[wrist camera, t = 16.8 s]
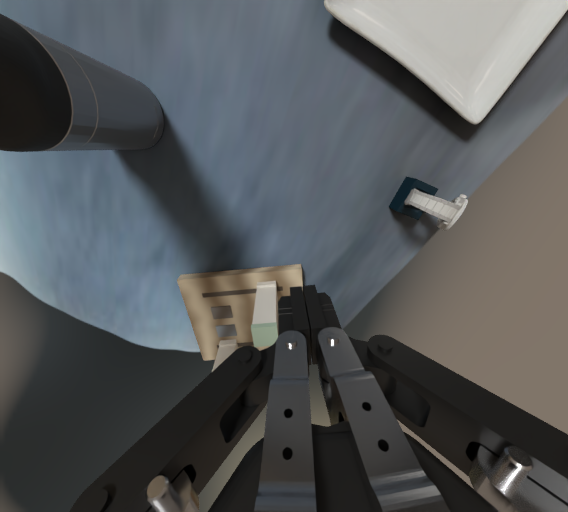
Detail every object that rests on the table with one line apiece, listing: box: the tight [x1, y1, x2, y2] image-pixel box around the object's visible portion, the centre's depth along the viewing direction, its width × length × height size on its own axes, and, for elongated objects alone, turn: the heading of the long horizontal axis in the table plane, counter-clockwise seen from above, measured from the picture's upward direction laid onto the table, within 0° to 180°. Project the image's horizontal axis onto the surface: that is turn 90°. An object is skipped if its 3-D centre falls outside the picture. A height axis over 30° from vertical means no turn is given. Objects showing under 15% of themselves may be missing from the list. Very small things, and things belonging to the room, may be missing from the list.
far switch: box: [212, 339, 238, 372], centre depth 46 cm, size 4×4×12 cm
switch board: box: [177, 264, 303, 360], centre depth 49 cm, size 24×22×2 cm
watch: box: [389, 177, 468, 231], centre depth 35 cm, size 6×8×11 cm
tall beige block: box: [251, 281, 278, 347], centre depth 39 cm, size 4×4×12 cm
